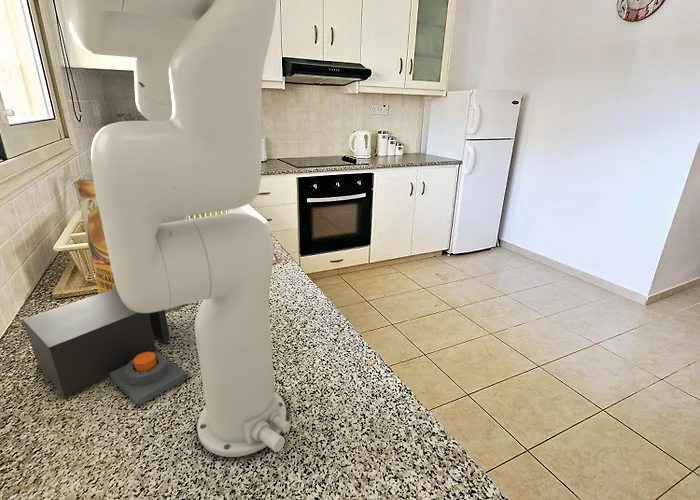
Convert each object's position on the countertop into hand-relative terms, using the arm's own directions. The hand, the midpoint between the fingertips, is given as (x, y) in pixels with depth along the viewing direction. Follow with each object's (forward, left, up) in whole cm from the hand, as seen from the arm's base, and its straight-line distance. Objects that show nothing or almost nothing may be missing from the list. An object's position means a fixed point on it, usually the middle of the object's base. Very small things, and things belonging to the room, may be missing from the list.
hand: (181, 304), depth 79 cm
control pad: (-12, +14, -4) cm, 19 cm away
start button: (-12, +14, -2) cm, 18 cm away
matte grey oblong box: (0, +17, -4) cm, 17 cm away
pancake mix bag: (+18, +4, -4) cm, 19 cm away
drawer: (0, +11, -3) cm, 11 cm away
